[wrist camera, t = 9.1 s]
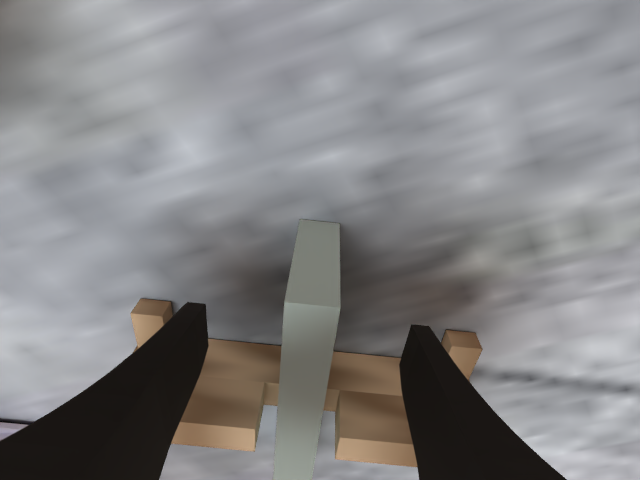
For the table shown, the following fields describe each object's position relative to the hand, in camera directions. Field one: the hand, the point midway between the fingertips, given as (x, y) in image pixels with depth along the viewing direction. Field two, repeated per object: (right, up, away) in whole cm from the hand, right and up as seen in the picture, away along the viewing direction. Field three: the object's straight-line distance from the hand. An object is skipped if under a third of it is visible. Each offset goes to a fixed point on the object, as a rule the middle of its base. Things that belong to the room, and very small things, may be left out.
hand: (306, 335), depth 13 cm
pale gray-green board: (0, -3, +6) cm, 6 cm away
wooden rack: (0, -3, +6) cm, 6 cm away
